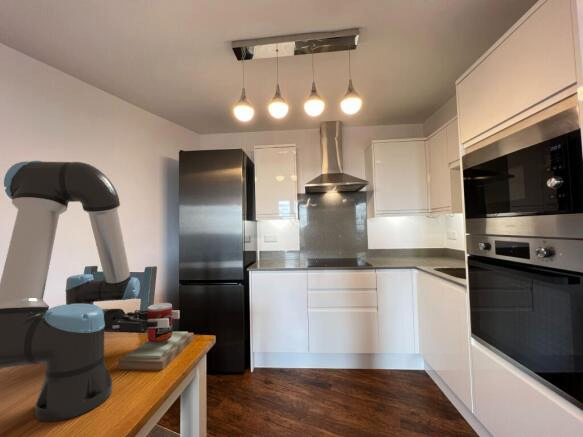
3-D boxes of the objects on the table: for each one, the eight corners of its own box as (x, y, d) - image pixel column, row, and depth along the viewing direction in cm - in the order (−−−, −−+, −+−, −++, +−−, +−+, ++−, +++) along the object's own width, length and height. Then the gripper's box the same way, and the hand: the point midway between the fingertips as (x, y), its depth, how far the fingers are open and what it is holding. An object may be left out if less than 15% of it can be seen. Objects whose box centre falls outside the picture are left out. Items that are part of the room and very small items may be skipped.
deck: (162, 369, 83) (162, 358, 83) (118, 369, 84) (118, 357, 84) (193, 339, 105) (193, 330, 105) (158, 339, 106) (158, 330, 106)
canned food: (157, 344, 89) (156, 310, 89) (142, 340, 93) (142, 307, 93) (177, 336, 96) (177, 304, 96) (162, 332, 100) (162, 301, 100)
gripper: (126, 320, 105) (185, 319, 105) (85, 344, 84) (159, 342, 84) (125, 300, 105) (185, 299, 105) (85, 319, 84) (159, 317, 84)
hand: (173, 318), depth 94 cm, fingers closed on canned food, 8 cm apart
